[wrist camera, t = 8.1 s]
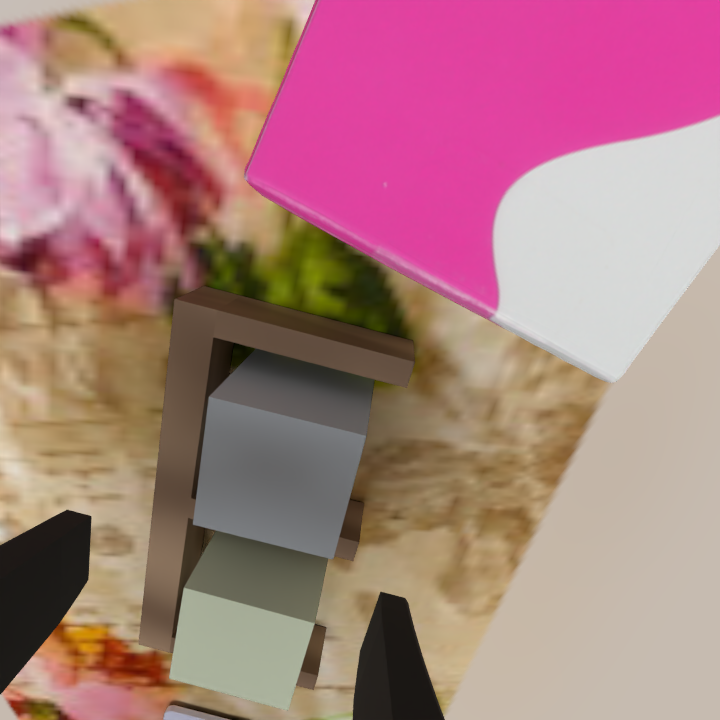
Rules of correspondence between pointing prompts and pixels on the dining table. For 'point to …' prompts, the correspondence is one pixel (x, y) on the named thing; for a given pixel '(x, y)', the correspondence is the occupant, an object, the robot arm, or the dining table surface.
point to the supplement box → (512, 156)
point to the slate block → (282, 452)
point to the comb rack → (188, 418)
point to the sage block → (247, 619)
